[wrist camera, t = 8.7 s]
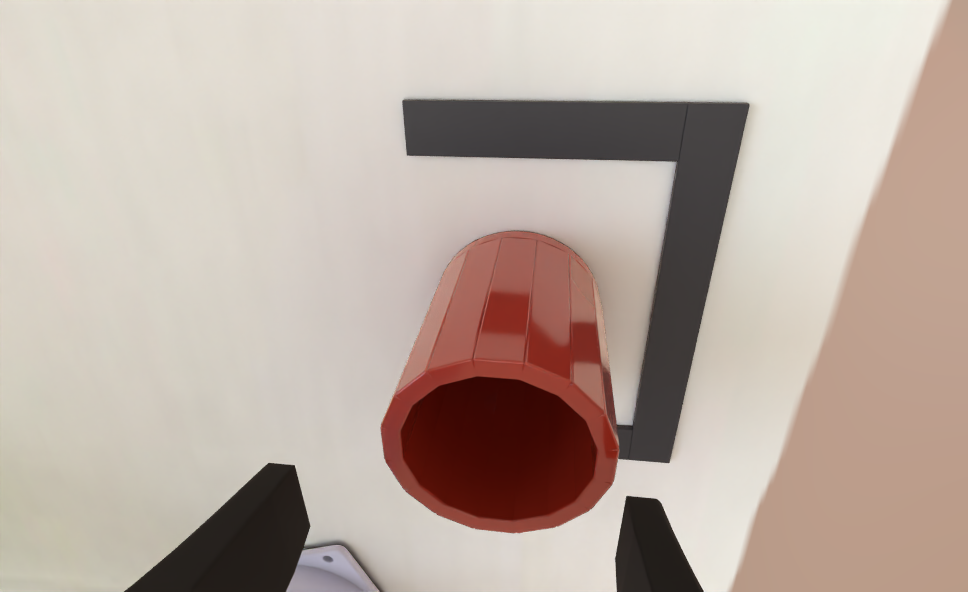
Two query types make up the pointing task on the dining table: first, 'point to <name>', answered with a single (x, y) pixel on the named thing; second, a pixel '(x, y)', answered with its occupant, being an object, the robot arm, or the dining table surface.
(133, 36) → the dining table surface
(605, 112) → the tape bay
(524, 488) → the tumbler
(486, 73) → the dining table surface
